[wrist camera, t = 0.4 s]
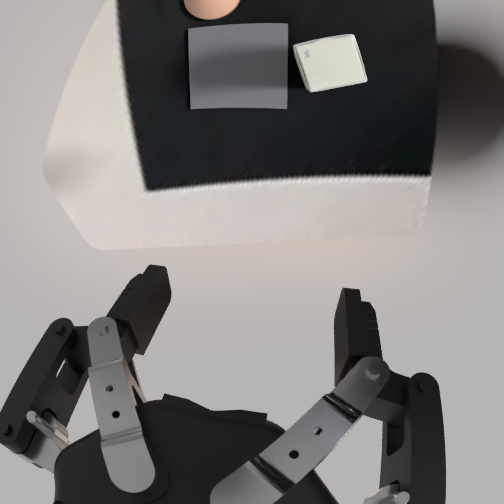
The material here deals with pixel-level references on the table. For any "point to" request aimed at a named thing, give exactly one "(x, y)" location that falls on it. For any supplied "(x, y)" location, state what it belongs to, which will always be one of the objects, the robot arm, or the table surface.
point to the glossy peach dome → (211, 8)
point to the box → (330, 62)
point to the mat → (239, 66)
